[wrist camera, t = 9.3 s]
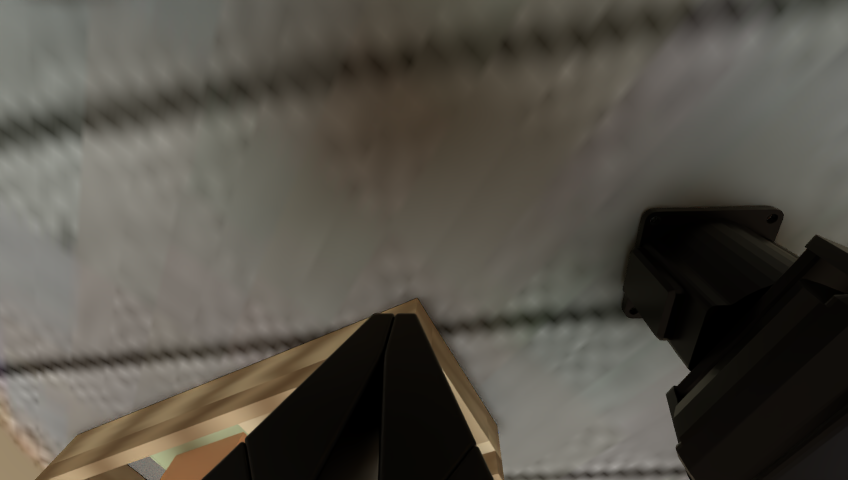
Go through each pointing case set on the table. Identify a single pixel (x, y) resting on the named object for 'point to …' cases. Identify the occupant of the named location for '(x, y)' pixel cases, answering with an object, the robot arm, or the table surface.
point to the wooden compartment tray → (244, 411)
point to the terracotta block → (201, 459)
